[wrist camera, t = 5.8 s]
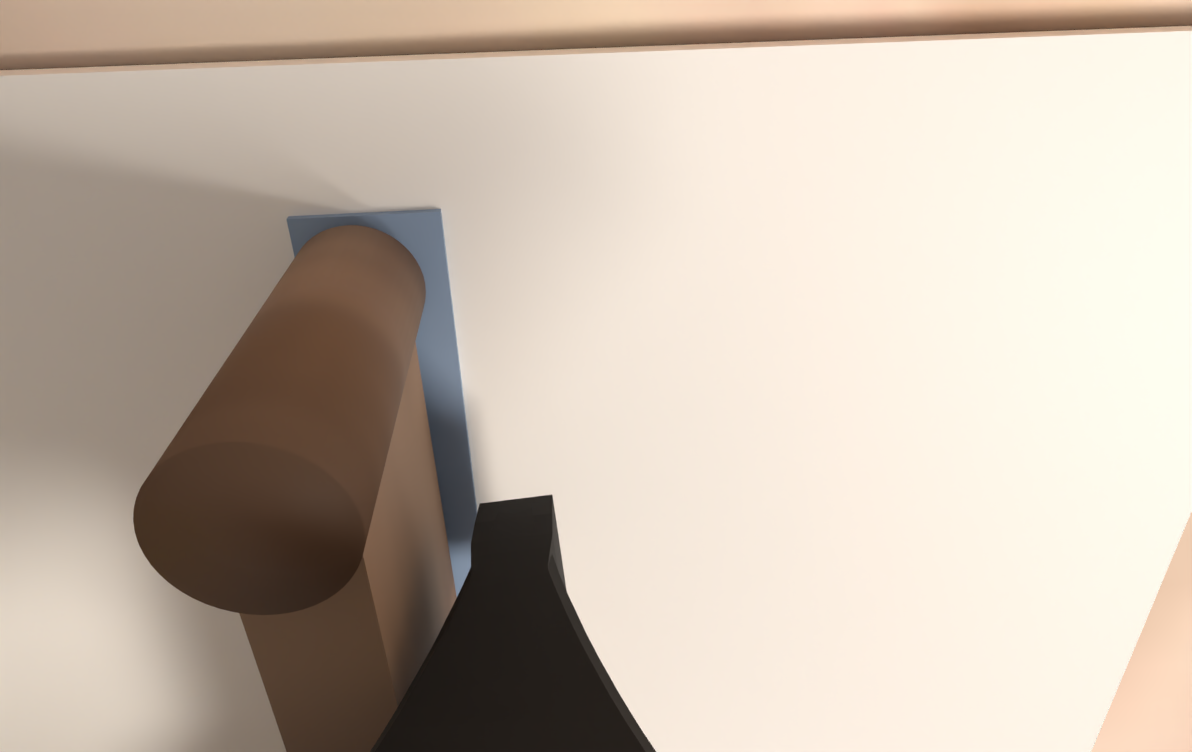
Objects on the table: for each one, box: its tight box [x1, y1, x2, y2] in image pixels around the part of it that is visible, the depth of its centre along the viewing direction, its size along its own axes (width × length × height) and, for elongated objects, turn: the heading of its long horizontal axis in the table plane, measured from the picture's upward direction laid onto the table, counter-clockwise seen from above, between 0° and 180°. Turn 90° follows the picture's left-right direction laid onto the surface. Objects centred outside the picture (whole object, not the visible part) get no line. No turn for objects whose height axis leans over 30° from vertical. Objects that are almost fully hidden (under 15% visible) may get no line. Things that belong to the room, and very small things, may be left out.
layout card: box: [0, 26, 1192, 752], centre depth 13 cm, size 20×22×1 cm
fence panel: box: [133, 225, 457, 752], centre depth 9 cm, size 9×1×4 cm, turn 2°
